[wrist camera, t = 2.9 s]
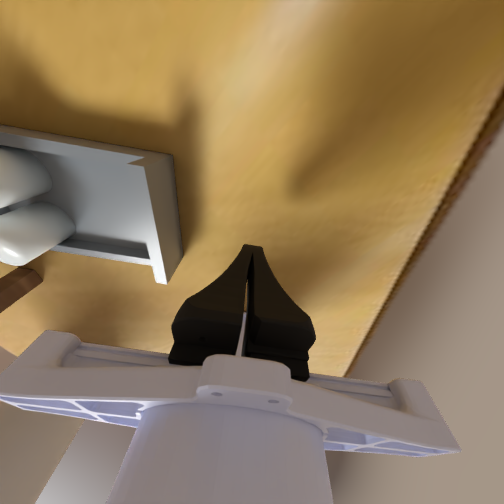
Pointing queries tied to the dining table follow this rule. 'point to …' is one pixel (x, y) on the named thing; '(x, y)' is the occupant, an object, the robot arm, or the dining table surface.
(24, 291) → the wooden side table
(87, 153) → the tray
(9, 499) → the cylinder vase
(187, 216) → the dining table surface
